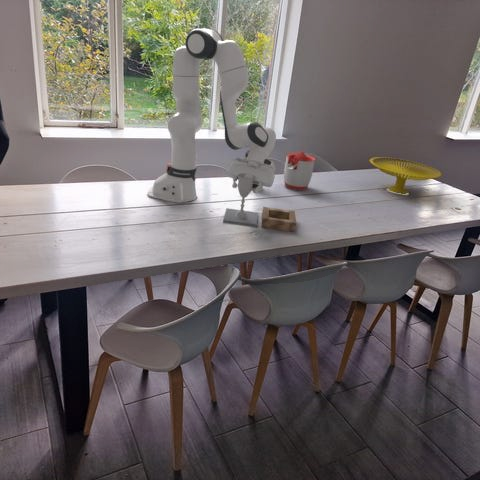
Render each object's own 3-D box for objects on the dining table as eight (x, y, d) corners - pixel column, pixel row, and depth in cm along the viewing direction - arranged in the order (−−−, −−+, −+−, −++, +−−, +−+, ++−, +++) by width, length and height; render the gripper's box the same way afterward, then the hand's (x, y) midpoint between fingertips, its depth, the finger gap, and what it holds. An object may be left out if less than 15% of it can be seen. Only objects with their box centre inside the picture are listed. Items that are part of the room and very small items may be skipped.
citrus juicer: (273, 185, 232) (279, 149, 223) (291, 181, 244) (297, 146, 236) (297, 194, 223) (304, 156, 215) (315, 189, 236) (322, 153, 227)
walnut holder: (261, 227, 178) (262, 218, 176) (261, 215, 190) (263, 206, 189) (294, 232, 178) (296, 223, 176) (293, 219, 190) (294, 211, 189)
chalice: (236, 219, 179) (242, 178, 172) (230, 213, 185) (234, 173, 177) (252, 218, 183) (258, 178, 175) (245, 212, 188) (250, 172, 180)
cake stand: (393, 178, 277) (400, 156, 270) (448, 200, 247) (457, 175, 240) (348, 182, 256) (354, 157, 250) (402, 206, 226) (410, 179, 220)
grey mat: (223, 222, 178) (223, 220, 177) (226, 210, 191) (226, 208, 190) (256, 226, 178) (256, 224, 177) (257, 214, 190) (257, 212, 190)
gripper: (232, 153, 183) (220, 180, 179) (277, 163, 177) (265, 191, 172) (235, 161, 189) (223, 187, 185) (279, 171, 182) (267, 199, 178)
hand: (244, 190), depth 178 cm, fingers open, 8 cm apart
